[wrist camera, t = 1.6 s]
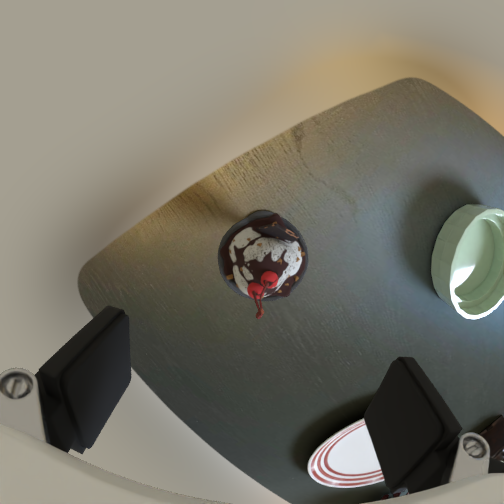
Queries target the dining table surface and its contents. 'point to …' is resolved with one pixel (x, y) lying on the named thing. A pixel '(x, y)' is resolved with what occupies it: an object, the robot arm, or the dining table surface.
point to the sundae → (263, 257)
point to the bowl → (470, 260)
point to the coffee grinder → (495, 438)
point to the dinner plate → (346, 459)
